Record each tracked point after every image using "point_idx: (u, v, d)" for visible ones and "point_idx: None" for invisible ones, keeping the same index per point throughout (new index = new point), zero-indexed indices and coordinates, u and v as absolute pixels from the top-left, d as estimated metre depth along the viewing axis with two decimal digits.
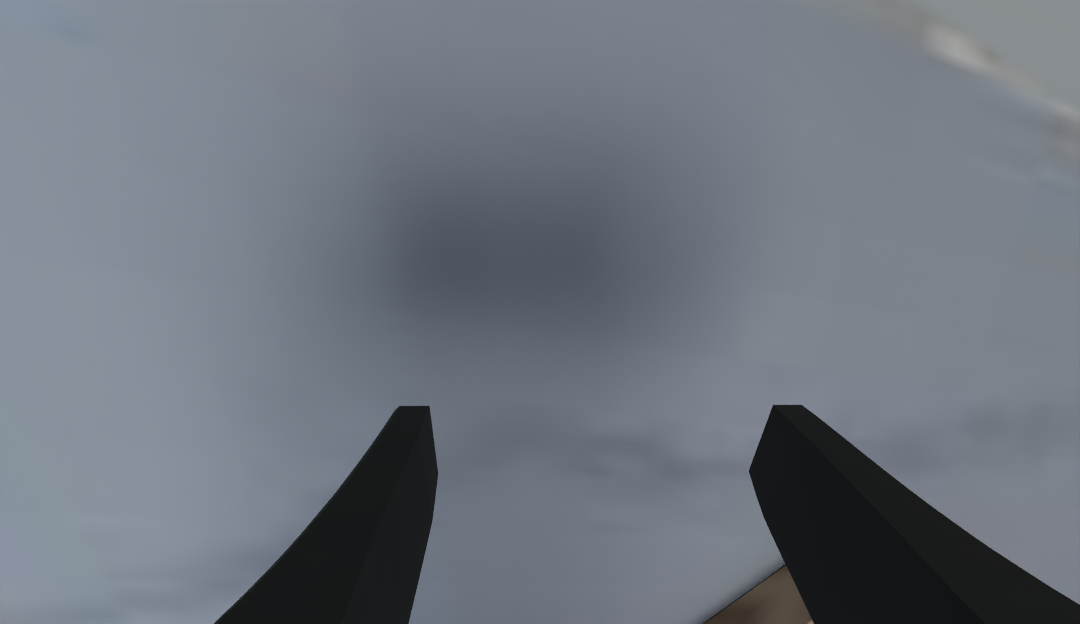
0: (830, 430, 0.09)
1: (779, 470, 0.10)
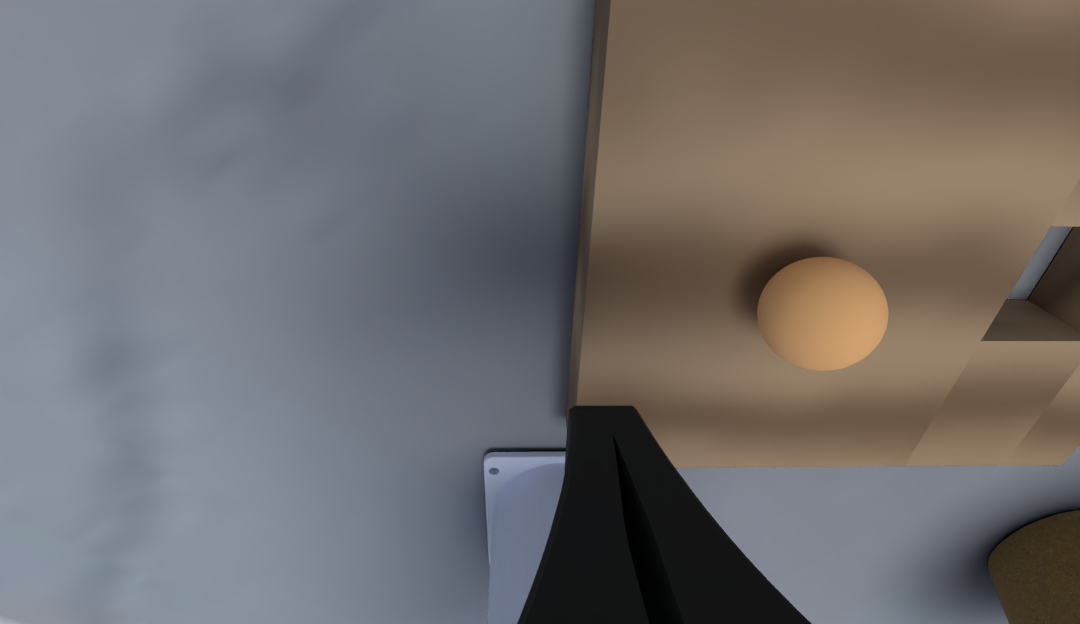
0: (643, 431, 0.09)
1: None
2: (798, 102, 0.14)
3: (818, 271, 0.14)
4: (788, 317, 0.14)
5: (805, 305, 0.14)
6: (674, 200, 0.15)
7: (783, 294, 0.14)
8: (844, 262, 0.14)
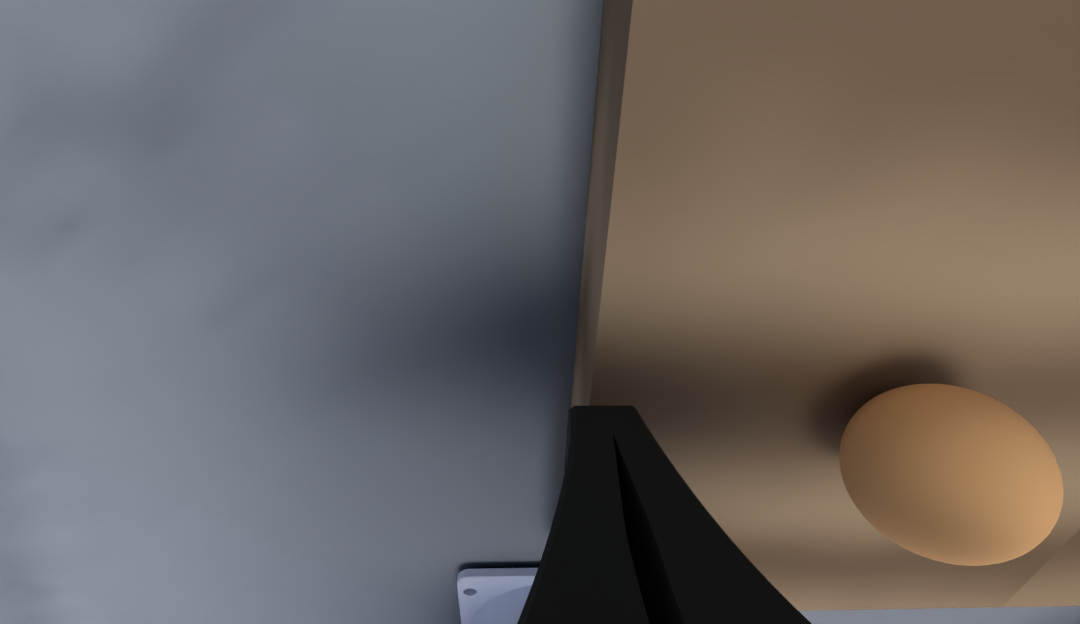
0: (643, 431, 0.09)
1: None
2: (930, 160, 0.08)
3: (952, 422, 0.09)
4: (904, 492, 0.09)
5: (935, 480, 0.09)
6: (724, 300, 0.10)
7: (892, 451, 0.09)
8: (989, 404, 0.09)
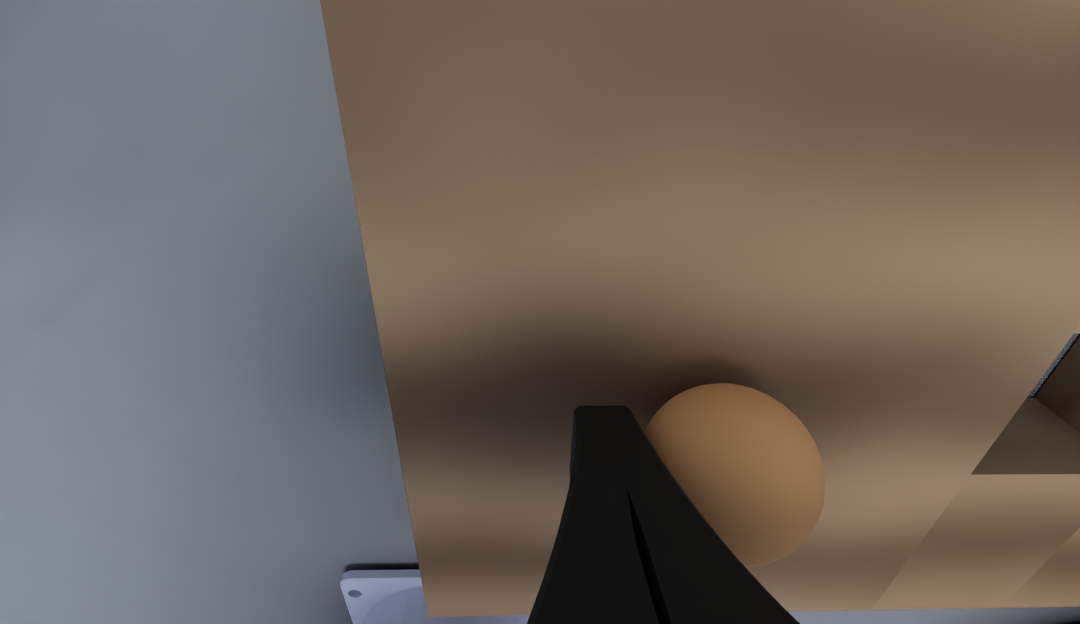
0: (635, 431, 0.09)
1: None
2: (672, 157, 0.08)
3: (715, 422, 0.09)
4: None
5: (693, 482, 0.09)
6: (499, 299, 0.10)
7: (663, 454, 0.09)
8: (757, 403, 0.09)
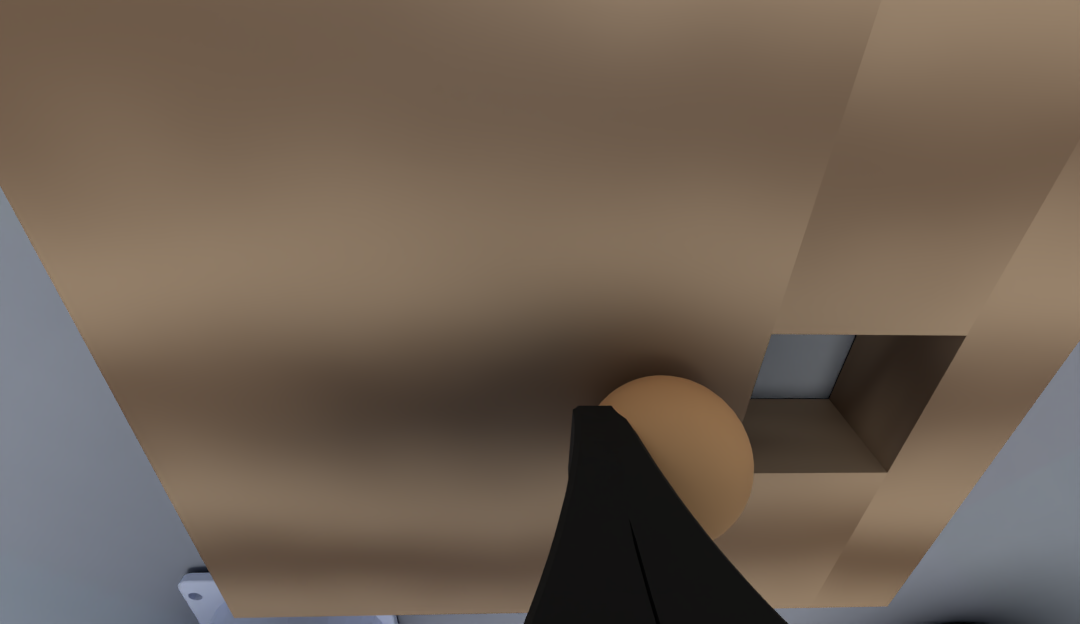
0: (628, 431, 0.09)
1: None
2: (308, 163, 0.09)
3: (707, 398, 0.10)
4: None
5: None
6: (189, 301, 0.10)
7: (741, 423, 0.10)
8: (664, 404, 0.09)
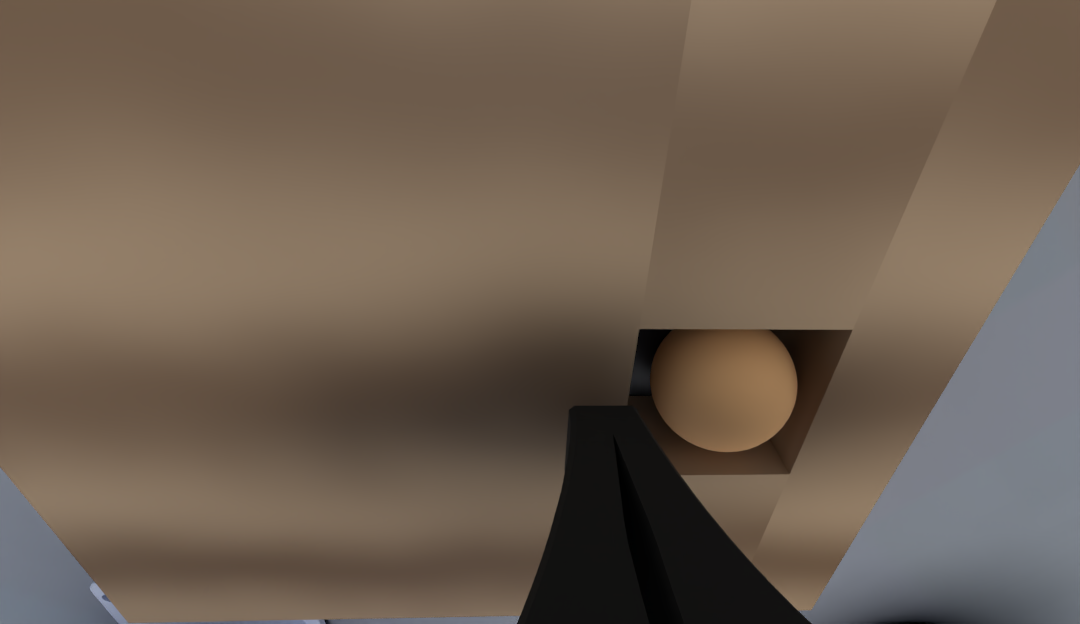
0: (643, 431, 0.09)
1: None
2: (90, 145, 0.08)
3: (750, 354, 0.11)
4: (776, 416, 0.11)
5: (782, 393, 0.11)
6: None
7: (755, 405, 0.11)
8: None
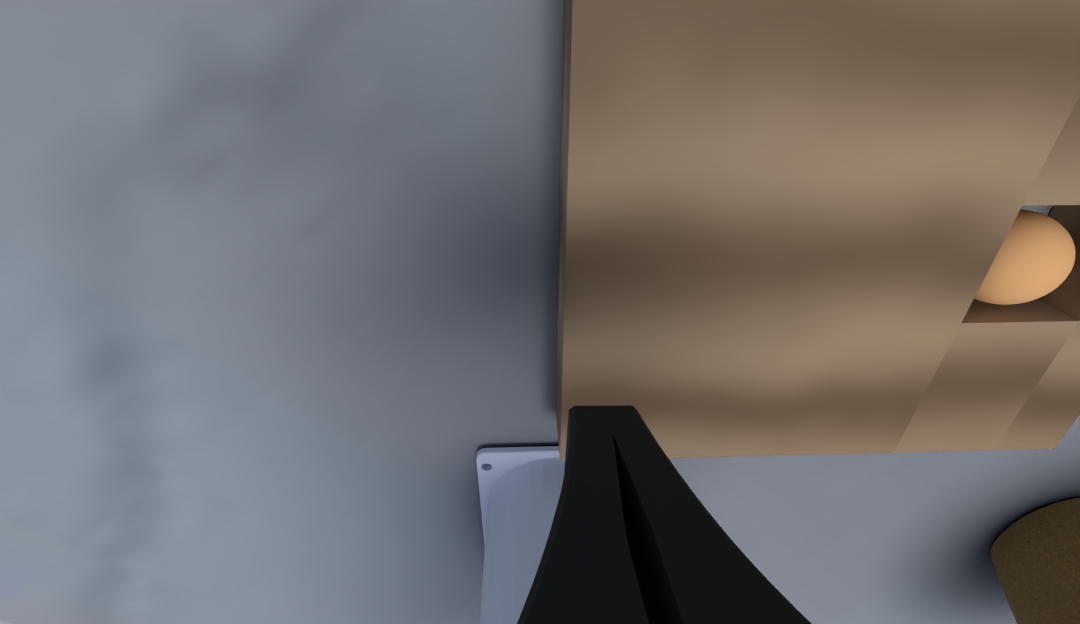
0: (644, 431, 0.09)
1: None
2: (762, 88, 0.14)
3: (1035, 227, 0.17)
4: (1047, 271, 0.17)
5: (1056, 256, 0.17)
6: (647, 188, 0.15)
7: (1030, 257, 0.17)
8: (1022, 211, 0.18)
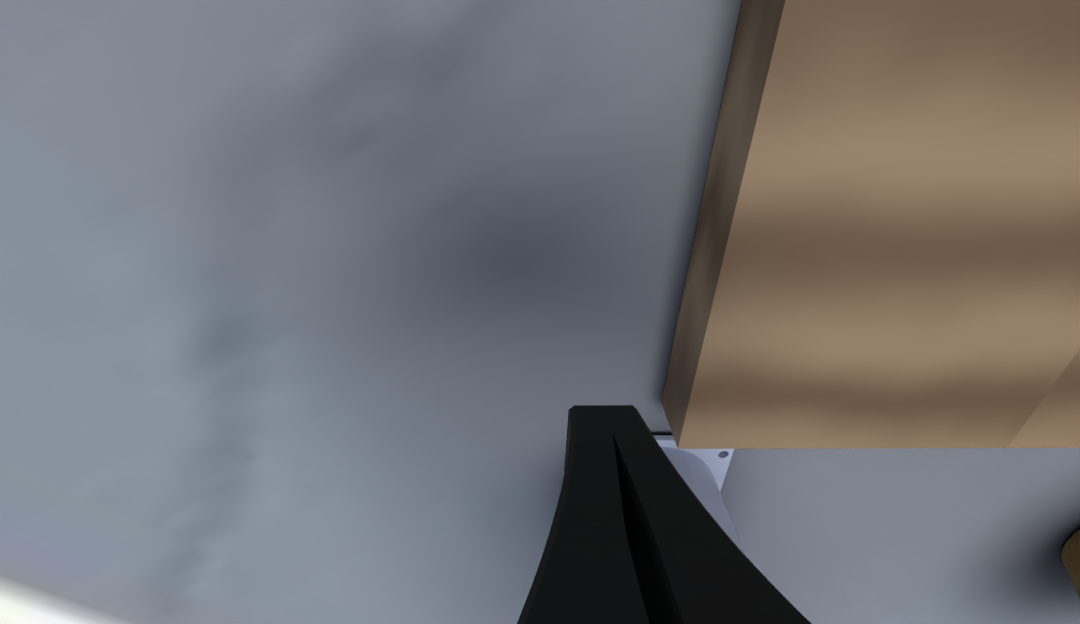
0: (643, 431, 0.09)
1: None
2: (958, 75, 0.14)
3: None
4: None
5: None
6: (823, 174, 0.15)
7: None
8: None
